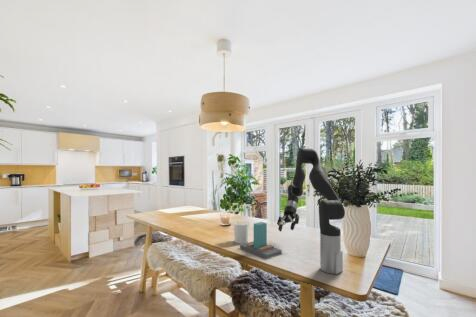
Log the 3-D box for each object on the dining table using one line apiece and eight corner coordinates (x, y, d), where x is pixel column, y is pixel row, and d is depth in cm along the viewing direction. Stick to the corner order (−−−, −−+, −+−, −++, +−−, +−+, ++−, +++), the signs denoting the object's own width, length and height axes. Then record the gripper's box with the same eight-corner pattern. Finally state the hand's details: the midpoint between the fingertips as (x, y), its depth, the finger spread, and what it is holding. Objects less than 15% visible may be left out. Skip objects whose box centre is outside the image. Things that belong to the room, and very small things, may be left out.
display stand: (281, 253, 139) (281, 247, 139) (267, 259, 131) (267, 252, 131) (254, 244, 156) (254, 238, 156) (240, 248, 148) (240, 242, 148)
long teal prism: (266, 247, 144) (266, 223, 144) (259, 249, 140) (259, 225, 140) (261, 245, 147) (261, 221, 147) (253, 247, 143) (253, 223, 143)
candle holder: (231, 240, 163) (231, 222, 164) (245, 238, 167) (245, 221, 167) (236, 244, 154) (236, 225, 154) (251, 243, 158) (251, 224, 158)
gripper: (278, 207, 163) (272, 227, 152) (297, 203, 154) (292, 225, 143) (284, 214, 166) (279, 234, 155) (303, 210, 157) (299, 232, 146)
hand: (285, 230), depth 149 cm, fingers open, 8 cm apart
